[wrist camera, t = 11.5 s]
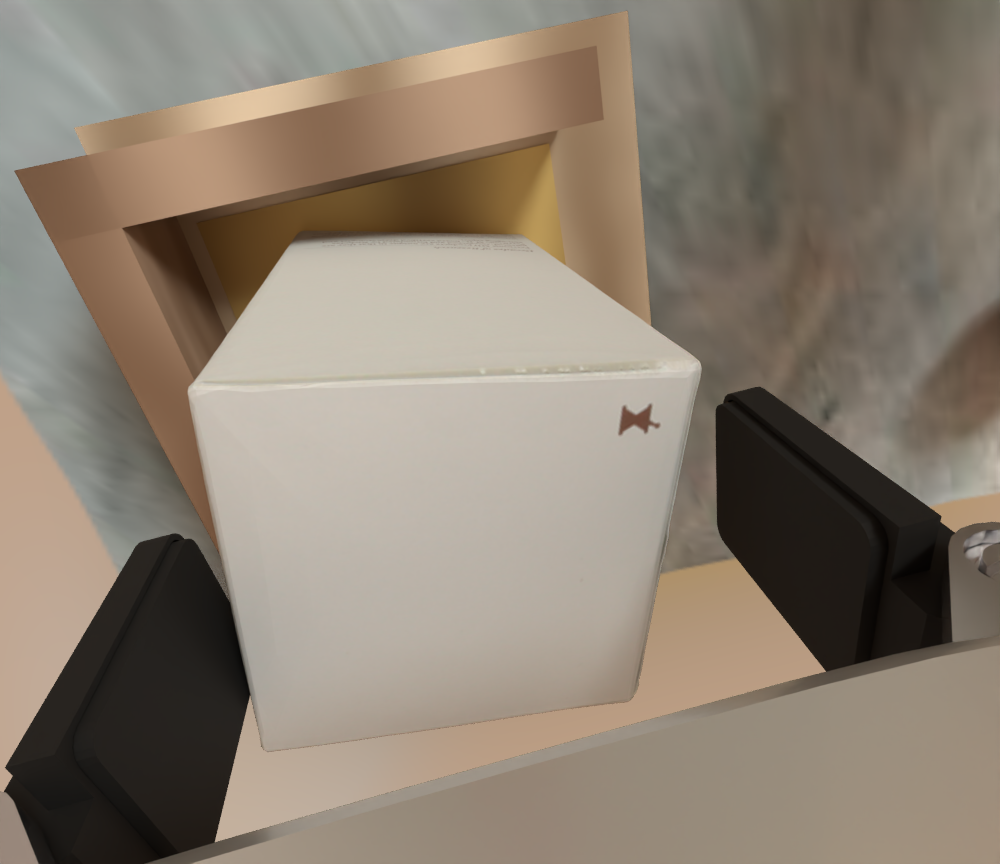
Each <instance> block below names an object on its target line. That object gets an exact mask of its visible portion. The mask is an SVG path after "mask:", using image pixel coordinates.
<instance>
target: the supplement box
mask: <svg viewBox="0 0 1000 864" xmlns="http://www.w3.org/2000/svg"><path fill="white" fill-rule="evenodd" d="M701 371H702V368H701V364H700V361H698V360H697V359H696V358H695V357H694V356H692V355H691V354H690V353H689V352H687V351H686V350H684V349H683V348H681V347H680V346H678V345H677V344H675V343H674V342H673V341H671V340H670V339H668V338H667V337H665V336H664V335H662V334H661V333H660V332H658V331H657V330H655V329H654V328H652V327H651V326H650V325H648V324H647V323H646V322H644V321H643V320H642V319H640V318H639V317H638V316H636V315H635V314H633V313H632V312H630V311H629V310H627V309H626V308H624V307H623V306H622V305H620V304H619V303H617V302H616V301H615V300H613V299H612V298H610V297H609V296H607V295H606V294H605V293H603V292H602V291H600V290H599V289H598V288H596V287H595V286H594V285H592V284H591V283H589V282H588V281H587V280H585V279H584V278H582V277H581V276H579V275H578V274H577V273H575V272H574V271H573V270H571V269H570V268H568V267H567V266H566V265H564V264H563V263H561V262H560V261H559V260H557V259H556V258H554V257H553V256H551V255H550V254H549V253H547V252H546V251H544V250H543V249H542V248H540V247H539V246H537V245H536V244H535V243H533V242H532V241H530V240H529V239H528V238H526V237H525V236H524V235H522V234H464V233H415V232H370V231H301V232H299V233H298V234H297V235H296V236H295V238H294V239H293V241H292V242H291V244H290V245H289V246H288V248H287V249H286V250H285V252H284V253H283V255H282V257H281V258H280V259H279V261H278V262H277V264H276V265H275V267H274V268H273V269H272V271H271V272H270V274H269V275H268V277H267V278H266V280H265V281H264V283H263V284H262V285H261V287H260V288H259V290H258V291H257V293H256V294H255V296H254V297H253V298H252V300H251V301H250V302H249V304H248V305H247V307H246V308H245V310H244V311H243V313H242V314H241V316H240V317H239V319H238V320H237V322H236V323H235V325H234V326H233V327H232V329H231V330H230V331H229V333H228V334H227V335H226V337H225V339H224V340H223V342H222V343H221V345H220V346H219V347H218V349H217V350H216V351H215V353H214V354H213V356H212V357H211V359H210V360H209V362H208V363H207V365H206V366H205V367H204V369H203V370H202V371H201V373H200V374H199V375H198V377H197V378H196V379H195V381H194V382H193V383H192V384H191V385H190V386H189V388H188V398H189V404H190V410H191V415H192V420H193V425H194V430H195V436H196V441H197V447H198V452H199V457H200V462H201V466H202V471H203V477H204V483H205V487H206V492H207V497H208V501H209V506H210V511H211V515H212V520H213V524H214V529H215V534H216V538H217V543H218V548H219V552H220V557H221V562H222V567H223V571H224V576H225V581H226V585H227V590H228V595H229V600H230V604H231V609H232V614H233V618H234V623H235V628H236V633H237V637H238V642H239V647H240V651H241V656H242V660H243V665H244V669H245V673H246V678H247V682H248V687H249V691H250V696H251V700H252V704H253V709H254V713H255V718H256V722H257V726H258V730H259V734H260V740H261V747H262V748H263V750H265V751H267V752H272V751H279V750H287V749H295V748H302V747H311V746H319V745H326V744H333V743H340V742H348V741H355V740H362V739H368V738H375V737H382V736H388V735H396V734H404V733H411V732H418V731H425V730H432V729H440V728H447V727H454V726H460V725H467V724H473V723H479V722H485V721H492V720H499V719H505V718H512V717H518V716H525V715H532V714H538V713H544V712H551V711H557V710H564V709H572V708H580V707H588V706H596V705H604V704H613V703H624V702H628V701H630V700H631V699H632V698H633V697H634V695H635V693H636V691H637V689H638V685H639V679H640V674H641V670H642V665H643V659H644V653H645V646H646V641H647V636H648V632H649V627H650V622H651V618H652V612H653V607H654V602H655V597H656V592H657V587H658V582H659V577H660V572H661V568H662V564H663V560H664V557H665V553H666V548H667V543H668V538H669V527H670V522H671V516H672V511H673V507H674V502H675V496H676V491H677V486H678V481H679V476H680V471H681V466H682V460H683V456H684V451H685V446H686V441H687V436H688V431H689V426H690V421H691V416H692V411H693V406H694V401H695V397H696V393H697V389H698V386H699V382H700V377H701Z"/></svg>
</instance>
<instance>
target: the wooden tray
mask: <svg viewBox="0 0 1000 864" xmlns="http://www.w3.org/2000/svg"><path fill="white" fill-rule="evenodd" d="M74 129H75V131H76V133H77V135H78V137H79V139H80V141H81V143H82V146H83V148H84V150H85V152H86V154H87V155H85V156H81V157H76V158H71V159H67V160H62V161H57V162H53V163H48V164H43V165H39V166H34V167H29V168H25V169H20V170H16V171H15V173H16V175H17V177H18V179H19V181H20V183H21V184H22V186H23V188H24V190H25V192H26V194H27V196H28V197H29V199H30V201H31V203H32V205H33V207H34V209H35V211H36V212H37V214H38V216H39V218H40V220H41V222H42V224H43V225H44V227H45V229H46V231H47V233H48V235H49V237H50V239H51V240H52V242H53V244H54V246H55V248H56V250H57V252H58V253H59V255H60V257H61V259H62V261H63V263H64V265H65V267H66V268H67V270H68V272H69V274H70V276H71V278H72V280H73V282H74V283H75V285H76V287H77V289H78V291H79V293H80V295H81V296H82V298H83V300H84V302H85V304H86V306H87V308H88V310H89V311H90V313H91V315H92V317H93V319H94V321H95V323H96V324H97V326H98V328H99V330H100V332H101V334H102V336H103V338H104V339H105V341H106V343H107V345H108V347H109V349H110V351H111V352H112V354H113V356H114V358H115V360H116V362H117V364H118V366H119V367H120V369H121V371H122V373H123V375H124V377H125V379H126V380H127V382H128V384H129V386H130V388H131V390H132V392H133V394H134V395H135V397H136V399H137V401H138V403H139V405H140V407H141V409H142V410H143V412H144V414H145V416H146V418H147V420H148V422H149V423H150V425H151V427H152V429H153V431H154V433H155V435H156V437H157V438H158V440H159V442H160V444H161V446H162V448H163V450H164V451H165V453H166V455H167V457H168V459H169V461H170V463H171V465H172V466H173V468H174V470H175V472H176V474H177V476H178V478H179V480H180V481H181V483H182V485H183V487H184V489H185V491H186V493H187V494H188V496H189V498H190V500H191V502H192V504H193V506H194V508H195V509H196V511H197V513H198V515H199V517H200V519H201V521H202V522H203V524H204V526H205V528H206V530H207V532H208V534H209V536H210V537H211V539H212V541H213V543H214V545H215V547H216V549H217V550H218V552H219V548H218V543H217V538H216V534H215V529H214V524H213V520H212V515H211V511H210V506H209V501H208V497H207V492H206V487H205V483H204V477H203V471H202V466H201V462H200V457H199V452H198V447H197V441H196V436H195V430H194V425H193V420H192V415H191V410H190V404H189V398H188V388H189V386H190V385H191V384H192V383H193V382H194V381H195V379H196V378H197V377H198V375H199V374H200V373H201V371H202V370H203V369H204V367H205V366H206V365H207V363H208V362H209V360H210V359H211V357H212V356H213V354H214V353H215V351H216V350H217V349H218V347H219V346H220V345H221V343H222V342H223V340H224V339H225V337H226V335H227V334H228V333H229V331H230V330H231V329H232V327H233V326H234V325H235V323H236V322H237V320H238V319H239V317H240V316H241V314H242V313H243V311H244V310H245V308H246V307H247V305H248V304H249V302H250V301H251V300H252V298H253V297H254V296H255V294H256V293H257V291H258V290H259V288H260V287H261V285H262V284H263V283H264V281H265V280H266V278H267V277H268V275H269V274H270V272H271V271H272V269H273V268H274V267H275V265H276V264H277V262H278V261H279V259H280V258H281V257H282V255H283V253H284V252H285V250H286V249H287V248H288V246H289V245H290V244H291V242H292V241H293V239H294V238H295V236H296V235H297V234H298V233H299V232H301V231H370V232H415V233H464V234H522V235H524V236H525V237H526V238H528V239H529V240H530V241H532V242H533V243H535V244H536V245H537V246H539V247H540V248H542V249H543V250H544V251H546V252H547V253H549V254H550V255H551V256H553V257H554V258H556V259H557V260H559V261H560V262H561V263H563V264H564V265H566V266H567V267H568V268H570V269H571V270H573V271H574V272H575V273H577V274H578V275H579V276H581V277H582V278H584V279H585V280H587V281H588V282H589V283H591V284H592V285H594V286H595V287H596V288H598V289H599V290H600V291H602V292H603V293H605V294H606V295H607V296H609V297H610V298H612V299H613V300H615V301H616V302H617V303H619V304H620V305H622V306H623V307H624V308H626V309H627V310H629V311H630V312H632V313H633V314H635V315H636V316H638V317H639V318H640V319H642V320H643V321H644V322H646V323H647V324H648V325H650V326H651V316H650V303H649V289H648V276H647V263H646V249H645V236H644V223H643V209H642V196H641V183H640V169H639V156H638V143H637V129H636V116H635V103H634V89H633V76H632V63H631V49H630V36H629V23H628V11H624V12H620V13H615V14H610V15H605V16H601V17H596V18H591V19H587V20H582V21H577V22H572V23H568V24H563V25H558V26H553V27H549V28H544V29H539V30H535V31H530V32H525V33H520V34H516V35H511V36H506V37H501V38H497V39H492V40H487V41H483V42H478V43H473V44H468V45H464V46H459V47H454V48H450V49H445V50H440V51H435V52H431V53H426V54H421V55H416V56H412V57H407V58H402V59H398V60H393V61H388V62H383V63H379V64H374V65H369V66H364V67H360V68H355V69H350V70H346V71H341V72H336V73H331V74H327V75H322V76H317V77H312V78H308V79H303V80H298V81H294V82H289V83H284V84H279V85H275V86H270V87H265V88H260V89H256V90H251V91H246V92H242V93H237V94H232V95H227V96H223V97H218V98H213V99H209V100H204V101H199V102H194V103H190V104H185V105H180V106H175V107H171V108H166V109H161V110H157V111H152V112H147V113H142V114H138V115H133V116H128V117H123V118H119V119H114V120H109V121H105V122H100V123H95V124H90V125H86V126H81V127H76V128H74ZM219 554H220V552H219Z"/></svg>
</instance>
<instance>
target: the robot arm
mask: <svg viewBox="0 0 1000 864" xmlns="http://www.w3.org/2000/svg"><path fill="white" fill-rule="evenodd" d="M716 477H717V526H718V530H719V533H720V536H721V538H722V540H723V541H724V543H725V544H726V546H727V547H728V548H729V549H730V551H731V552H732V553H733V554H734V556H735V557H736V558H737V559H738V561H739V562H740V563H741V565H742V566H743V567H744V568H745V570H746V571H747V572H748V573H749V575H750V576H751V577H752V578H753V580H754V581H755V582H756V583H757V585H758V586H759V587H760V588H761V590H762V591H763V592H764V593H765V595H766V596H767V597H768V599H769V600H770V601H771V602H772V604H773V605H774V606H775V607H776V609H777V610H778V611H779V612H780V614H781V615H782V616H783V618H784V619H785V620H786V621H787V623H788V624H789V625H790V626H791V627H792V629H793V630H794V631H795V633H796V634H797V635H798V636H799V638H800V639H801V640H802V641H803V643H804V644H805V645H806V647H807V648H808V649H809V650H810V652H811V653H812V654H813V655H814V657H815V658H816V659H817V660H818V662H819V663H820V664H821V665H822V667H823V668H824V669H825V671H826V672H824V673H819V674H815V675H812V676H808V677H804V678H800V679H796V680H792V681H788V682H784V683H781V684H777V685H774V686H770V687H766V688H763V689H759V690H755V691H752V692H748V693H745V694H741V695H737V696H734V697H730V698H726V699H722V700H719V701H715V702H712V703H708V704H705V705H701V706H697V707H693V708H690V709H686V710H682V711H679V712H675V713H672V714H668V715H664V716H661V717H657V718H654V719H650V720H646V721H642V722H639V723H635V724H631V725H628V726H624V727H620V728H617V729H613V730H610V731H606V732H603V733H599V734H595V735H592V736H588V737H585V738H581V739H577V740H574V741H570V742H567V743H563V744H560V745H556V746H553V747H549V748H545V749H542V750H538V751H535V752H531V753H527V754H524V755H520V756H517V757H513V758H510V759H506V760H503V761H499V762H495V763H492V764H488V765H485V766H481V767H478V768H474V769H470V770H467V771H463V772H460V773H456V774H453V775H449V776H446V777H443V778H438V779H435V780H431V781H428V782H424V783H421V784H417V785H414V786H410V787H406V788H403V789H400V790H396V791H392V792H390V793H385V794H382V795H379V796H375V797H372V798H368V799H365V800H361V801H358V802H354V803H351V804H347V805H344V806H340V807H337V808H333V809H330V810H326V811H323V812H319V813H316V814H313V815H309V816H305V817H302V818H298V819H295V820H291V821H288V822H284V823H281V824H278V825H274V826H270V827H267V828H263V829H260V830H256V831H253V832H249V833H246V834H242V835H239V836H235V837H232V838H229V839H225V840H222V841H218V842H215V838H216V834H217V830H218V825H219V821H220V817H221V813H222V809H223V805H224V801H225V796H226V792H227V788H228V784H229V779H230V775H231V772H232V767H233V763H234V759H235V755H236V750H237V746H238V742H239V738H240V734H241V730H242V726H243V721H244V717H245V713H246V709H247V705H248V701H249V697H250V691H249V687H248V682H247V678H246V673H245V669H244V665H243V660H242V656H241V651H240V647H239V642H238V637H237V633H236V628H235V623H234V618H233V614H232V609H231V604H230V602H229V600H228V598H227V597H226V595H225V593H224V591H223V590H222V588H221V586H220V584H219V582H218V581H217V579H216V577H215V575H214V574H213V572H212V570H211V568H210V567H209V565H208V563H207V561H206V559H205V558H204V556H203V554H202V552H201V551H200V549H199V547H198V545H197V544H196V543H195V541H193V540H192V539H184V538H183V537H182V536H181V535H179V534H175V533H174V534H170V535H166V536H162V537H159V538H155V539H151V540H147V541H143V542H140V543H139V544H138V545H137V546H136V547H135V549H134V551H133V552H132V554H131V556H130V557H129V559H128V561H127V562H126V564H125V566H124V567H123V569H122V571H121V572H120V574H119V576H118V578H117V579H116V581H115V583H114V584H113V586H112V588H111V590H110V591H109V593H108V595H107V596H106V598H105V600H104V601H103V603H102V605H101V607H100V608H99V610H98V612H97V613H96V615H95V616H94V618H93V620H92V621H91V623H90V625H89V627H88V628H87V630H86V632H85V633H84V635H83V637H82V639H81V640H80V642H79V643H78V645H77V647H76V649H75V650H74V652H73V654H72V655H71V657H70V659H69V660H68V662H67V664H66V665H65V667H64V669H63V671H62V672H61V674H60V676H59V677H58V679H57V681H56V682H55V684H54V686H53V687H52V689H51V691H50V693H49V694H48V696H47V698H46V699H45V701H44V703H43V704H42V706H41V708H40V709H39V711H38V713H37V714H36V716H35V718H34V720H33V721H32V723H31V725H30V726H29V728H28V730H27V731H26V733H25V735H24V736H23V738H22V740H21V741H20V743H19V745H18V747H17V748H16V750H15V752H14V753H13V755H12V757H11V758H10V760H9V762H8V763H7V765H6V767H5V768H6V769H7V770H8V771H9V772H10V773H11V774H12V775H13V777H12V779H11V780H10V782H9V784H8V785H7V787H6V789H5V791H4V792H0V864H1000V523H999V522H988V523H977V524H972V525H969V526H967V527H964V528H961V529H959V530H958V531H957V532H956V533H955V532H953V531H952V530H950V529H949V528H948V527H946V526H945V525H944V524H942V523H941V522H940V520H941V516H940V515H939V514H938V513H936V512H935V511H934V510H932V509H931V508H929V507H928V506H927V505H925V504H924V503H922V502H921V501H920V500H918V499H917V498H915V497H914V496H913V495H911V494H910V493H908V492H907V491H906V490H904V489H903V488H902V487H900V486H899V485H897V484H896V483H895V482H893V481H892V480H890V479H889V478H888V477H886V476H885V475H883V474H882V473H881V472H879V471H878V470H876V469H875V468H874V467H872V466H871V465H869V464H868V463H867V462H865V461H864V460H863V459H861V458H860V457H858V456H857V455H856V454H854V453H853V452H851V451H850V450H849V449H847V448H846V447H844V446H843V445H842V444H840V443H839V442H837V441H836V440H835V439H833V438H832V437H830V436H829V435H828V434H826V433H825V432H823V431H822V430H821V429H819V428H818V427H817V426H815V425H814V424H812V423H811V422H810V421H808V420H807V419H805V418H804V417H803V416H801V415H800V414H798V413H797V412H796V411H794V410H793V409H791V408H790V407H789V406H787V405H786V404H784V403H783V402H782V401H780V400H779V399H778V398H776V397H775V396H773V395H772V394H771V393H769V392H768V391H766V390H765V389H763V388H761V387H755V388H751V389H747V390H743V391H739V392H735V393H731V394H728V395H727V396H726V397H725V399H724V403H723V404H720V405H718V406H717V408H716ZM214 842H215V843H214Z"/></svg>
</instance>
